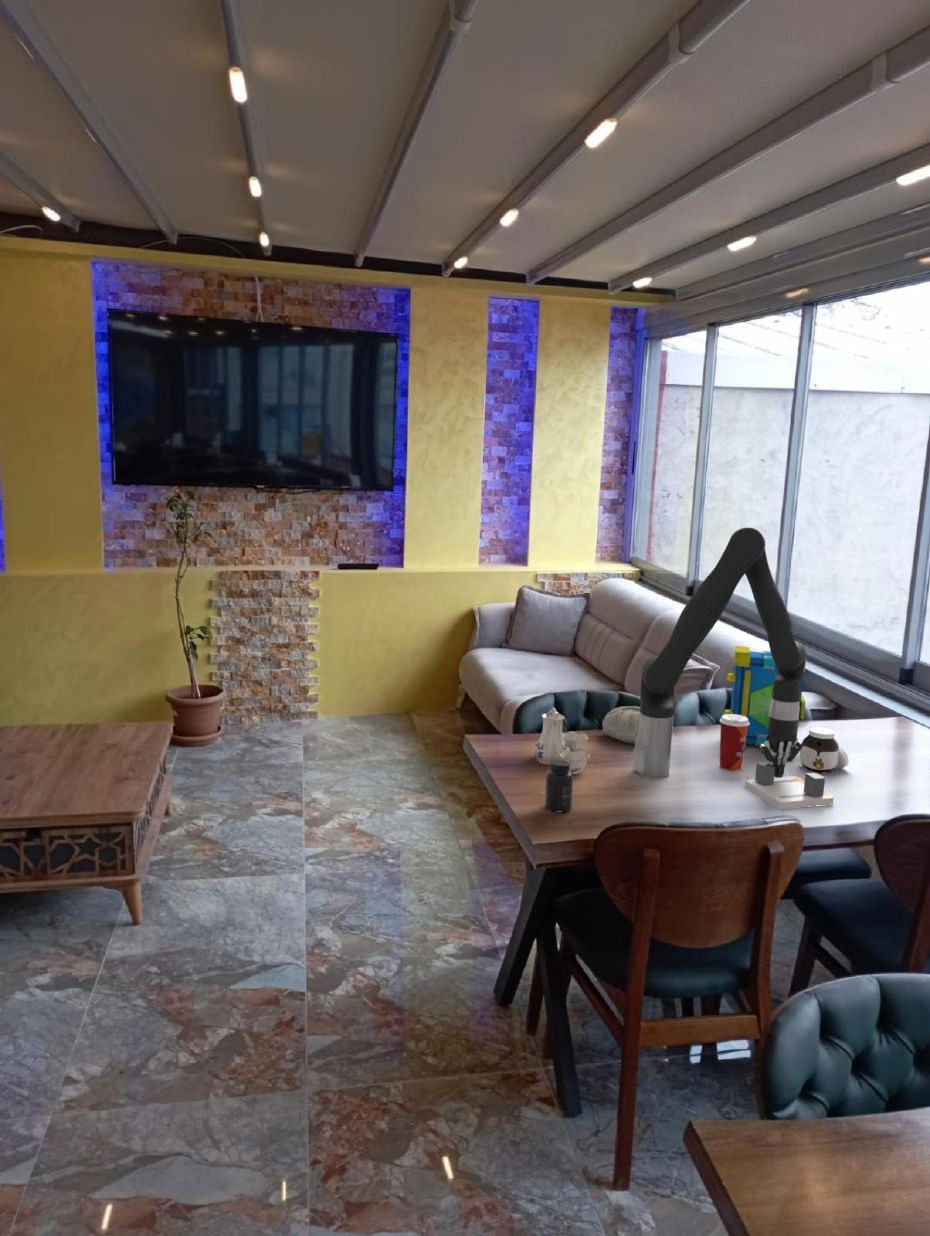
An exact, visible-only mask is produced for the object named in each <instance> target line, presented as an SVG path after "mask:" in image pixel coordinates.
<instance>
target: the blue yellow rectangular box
mask: <svg viewBox="0 0 930 1236" xmlns="http://www.w3.org/2000/svg"><path fill="white" fill-rule="evenodd" d="M733 661H734V667H733V669H734V670H733V672H728V673H727V677H726V681H728V682H729V683H732V692H731V701H730V702H731V703H730V704H731V705H730V708H729V709H724V711H723V715H725V714H736V715H741V716H745V717H747V718H748V722H749V725H748V729H747V735H746V742H745V744H747V745H749V744H750V745H755V746H757V747H758V745H759V744H763V743H764V742H766V738H767V736H768V720H769V709H770V703H771V698H772V688H773V682H774V679H775V677H776V675H777V668H778V666H777V665H776V664H775V662H774V660H773V658H772V655H771V651H769V650H768V651H767V650H762V651H761V652H759V651H750V646H741V645H740V646H738V645H734V655H733ZM806 665H807V658H806V659H805V665H804V670H803V675H802V678H801V685H800V699H799V719H798V724H799V722H800V721H799V720H800V719H801V720H804V719H805V711H806V710H805V709H806V699H805V697H804V694H803V693H802V692H803V681H804V674H805V671H806ZM798 729H799V728H798ZM798 729H797V734H796V738H797V739H796V740H797V741H798V731H799V730H798ZM798 742H799V741H798Z"/></svg>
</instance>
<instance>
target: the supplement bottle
mask: <svg viewBox="0 0 930 1236" xmlns="http://www.w3.org/2000/svg"><path fill="white" fill-rule="evenodd" d="M569 766H570V763H569V762H568V761H565V760H553V761H551V762H550V765H549V770H550V771H548V772H547V773H546V775H545V790H544V791H545V792H544V793H545V794H544V796H545V797H544V807H545V809H546V808H547V809H546V810H548V809H550V810H552V811H567V812H569V811H570V809H572V808H573V790H574V788H573V787H574V776H573V774H571V773H570V772H569V770H570V768H569ZM568 810H569V811H568ZM552 811H551V812H552Z"/></svg>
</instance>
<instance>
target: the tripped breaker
mask: <svg viewBox="0 0 930 1236" xmlns="http://www.w3.org/2000/svg"><path fill="white" fill-rule="evenodd" d="M774 773H775V766H773V764H772V763H769V761H768V762H767V761H760V762H758V761H757V762H756V765H755V777H754V779H755V780H756V781H758V782H759V783H761V784H762V785H773V783H774V778H775V776H774Z"/></svg>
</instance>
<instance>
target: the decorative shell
mask: <svg viewBox="0 0 930 1236" xmlns="http://www.w3.org/2000/svg"><path fill="white" fill-rule="evenodd" d="M639 721H640V706H636V705H633V706H632V705H631V706H619V707H615V708H612V709H611V710H610V711H608V712H607V714H605V716H604V718H603V720H602V724H601V725H602V730H603V732H604V733H605V734H606V735H607V736H609V737H611V738H612V739H616V740H618V741H620V742H623V743H627V744H631V745H632V744H633V745H635V738H638V734H639Z"/></svg>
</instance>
